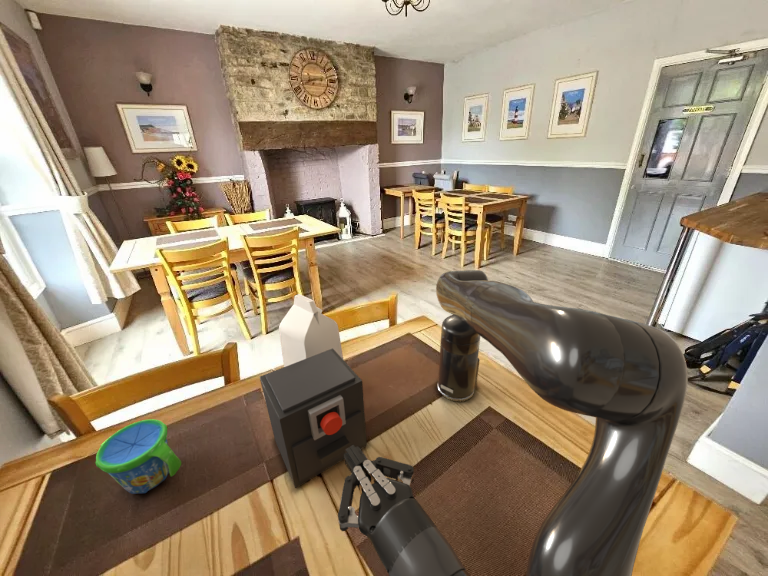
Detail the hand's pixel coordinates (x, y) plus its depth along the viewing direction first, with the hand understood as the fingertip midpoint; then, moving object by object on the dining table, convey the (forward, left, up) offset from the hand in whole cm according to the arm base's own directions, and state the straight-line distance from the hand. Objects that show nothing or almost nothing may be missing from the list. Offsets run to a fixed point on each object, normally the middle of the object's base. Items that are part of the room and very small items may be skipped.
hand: (349, 450), depth 50 cm
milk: (-7, -34, -14) cm, 37 cm away
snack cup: (+31, -28, -14) cm, 44 cm away
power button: (0, -7, -2) cm, 7 cm away
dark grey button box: (0, -14, -14) cm, 20 cm away
